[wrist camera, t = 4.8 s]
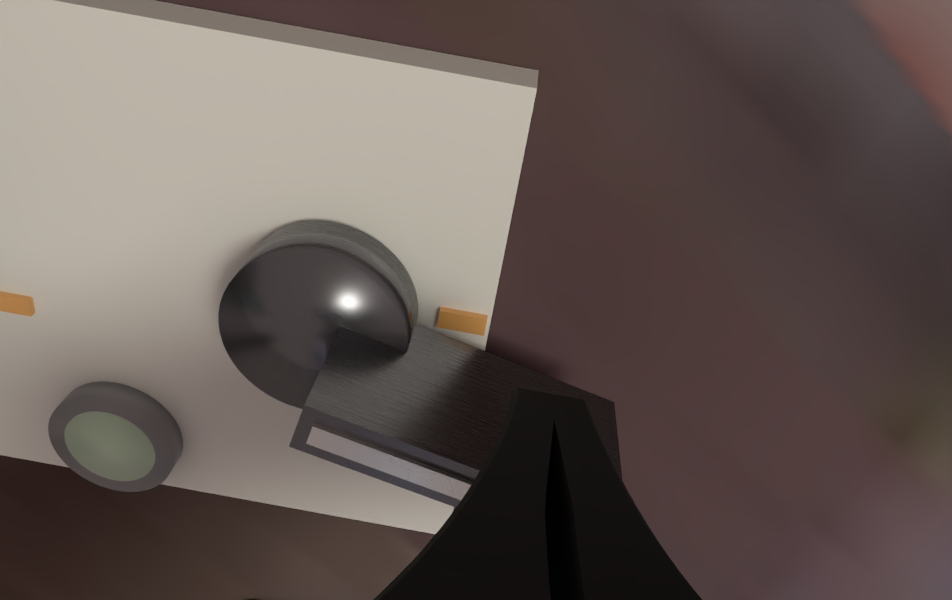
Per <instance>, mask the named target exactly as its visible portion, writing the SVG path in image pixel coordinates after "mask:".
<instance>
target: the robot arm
mask: <svg viewBox="0 0 952 600" xmlns="http://www.w3.org/2000/svg"><path fill="white" fill-rule="evenodd" d="M374 600H702V599H701V598H700V597H699V595H698V594H697V593H696V592H695V591H694V590H693V588H692V587H691V586H690V584H689V583H688V582H687V581H686V579H685V578H684V577H683V575H682V574H681V573H680V572H679V570H678V569H677V567H676V566H675V565H674V563H673V562H672V560H671V559H670V558H669V556H668V555H667V553H666V552H665V551H664V549H663V548H662V546H661V545H660V543H659V542H658V540H657V539H656V537H655V536H654V534H653V533H652V531H651V529H650V528H649V526H648V525H647V523H646V521H645V520H644V518H643V516H642V515H641V513H640V512H639V510H638V508H637V507H636V505H635V503H634V501H633V499H632V498H631V496H630V494H629V492H628V491H627V489H626V487H625V485H624V483H623V481H622V479H621V477H620V475H619V473H618V472H617V470H616V468H615V466H614V464H613V462H612V460H611V458H610V456H609V454H608V451H607V449H606V447H605V445H604V443H603V441H602V438H601V436H600V434H599V432H598V429H597V427H596V425H595V422H594V420H593V417H592V415H591V412H590V410H589V407H588V405H587V404H586V402H585V401H584V400H583V399H578V398H572V397H567V396H561V395H556V394H550V393H545V392H539V391H534V390H528V389H523V388H517V389H515V390H513V391H511V394H510V398H509V402H508V407H507V411H506V415H505V420H504V423H503V426H502V428H501V431H500V433H499V435H498V437H497V440H496V442H495V444H494V446H493V448H492V450H491V452H490V454H489V456H488V458H487V459H486V461H485V463H484V465H483V467H482V468H481V470H480V471H479V473H478V475H477V476H476V478H475V480H474V481H473V483H472V485H471V486H470V488H469V489H468V491H467V493H466V494H465V496H464V497H463V498H462V500H461V501H460V503H459V504H458V506H457V507H456V509H455V510H454V511H453V513H452V514H451V515H450V517H449V518H448V519H447V521H446V522H445V523H444V525H443V526H442V527H441V528H440V530H439V531H438V532H437V533H436V534H435V536H434V537H433V538H432V539H431V540H430V542H429V543H428V544H427V545H426V546H425V548H424V549H423V550H422V551H421V552H420V553H419V554H418V556H417V557H416V558H415V559H414V560H413V561H412V562H411V563H410V564H409V565H408V566H407V567H406V568H405V569H404V570H403V571H402V572H401V573H400V574H399V575H398V576H397V577H396V578H395V579H394V580H393V581H392V582H391V583H390V584H389V585H388V586H387V587H386V588H385V589H384V590H383V591H382V592H381V593H380V594H379V595H378V596H377V597H376V598H375V599H374Z"/></svg>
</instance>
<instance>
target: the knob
mask: <svg viewBox="0 0 952 600" xmlns="http://www.w3.org/2000/svg"><path fill="white" fill-rule="evenodd" d="M417 319H418V299H417V294H416V290H415V287H414V284H413V282H412V279H411V277H410V275H409V273H408V272H407V270H406V268H405V267H404V265H403V264H402V263H401V262H400V260H399V259H398V258H397V257H396V256H395V255H394V254H393V253H392V252H391V251H390V250H389V249H388V248H387V247H386V246H385V245H383V244H382V243H381V242H380V241H378V240H377V239H375V238H373V237H372V236H370V235H369V234H366V233H364V232H362V231H360V230H358V229H355V228H353V227H350V226H347V225H343V224H339V223H334V222H325V221H308V222H301V223H296V224H292V225H289V226H286V227H284V228H281V229H279V230H277V231H275V232H274V233H272V234H271V235H269V236H268V237H266V238H265V239H264V240H263V241H262V242H261V243H260V244H259V245H258V246H257V248H256V249H255V250H254V251H253V253H252V254H251V255H250V257H249V258H248V259H247V260H246V262H245V263H244V264H243V266H242V267H241V268H240V270H239V271H238V272H237V274H236V275H235V276H234V277H233V279H232V280H231V281H230V283H229V284H228V286H227V288H226V289H225V291H224V293H223V296H222V299H221V301H220V306H219V312H218V324H219V331H220V335H221V339H222V342H223V345H224V347H225V349H226V352H227V354H228V355H229V357H230V359H231V360H232V362H233V363H234V365H235V366H236V367H237V369H238V370H239V371H240V372H241V373H242V374H243V375H244V376H245V377H246V378H247V380H249V381H250V382H251V383H252V384H253V385H255V386H256V387H257V388H258V389H260V390H261V391H263V392H264V393H266V394H267V395H269V396H271V397H273V398H274V399H276V400H278V401H281V402H283V403H285V404H288V405H291V406H294V407H297V408H300V409H303V410H302V413H301V415H300V418H299V421H298V423H297V426H296V429H295V431H294V434H293V437H292V439H291V442H290V445H289V447H291V448H294V449H297V450H299V451H302V452H305V453H308V454H310V455H313V456H316V457H319V458H321V459H324V460H327V461H330V462H332V463H335V464H338V465H341V466H343V467H346V468H349V469H352V470H354V471H357V472H360V473H362V474H365V475H368V476H371V477H373V478H376V479H379V480H382V481H384V482H387V483H390V484H393V485H395V486H398V487H401V488H404V489H406V490H409V491H412V492H415V493H417V494H420V495H423V496H426V497H428V498H431V499H434V500H437V501H439V502H442V503H445V504H447V505H450V506H453V507H457V506H458V504H459V503H460V501H461V500H462V498H463V497H464V496H465V494H466V493H467V491H468V489H469V488H470V486H471V485H472V483H473V481H474V480H475V478H476V476H477V475H478V473H479V471H480V470H481V468H482V467H483V465H484V463H485V461H486V459H487V458H488V456H489V454H490V452H491V450H492V448H493V446H494V444H495V442H496V440H497V437H498V435H499V433H500V431H501V428H502V426H503V423H504V420H505V415H506V411H507V407H508V402H509V398H510V394H511V391H513V390H515V389H517V388H523V389H528V390H534V391H539V392H545V393H550V394H556V395H561V396H567V397H572V398H578V399H583V400H584V401H585V402H586V404H587V405H588V407H589V410H590V412H591V415H592V417H593V420H594V422H595V425H596V427H597V429H598V432H599V434H600V436H601V438H602V441H603V443H604V445H605V447H606V449H607V451H608V454H609V456H610V458H611V460H612V462H613V464H614V466H615V468H616V470H617V472H618V473H619V475H620V477H621V479H622V473H621V464H620V454H619V444H618V435H617V425H616V416H615V406H614V402H612V401H610V400H607V399H605V398H602V397H600V396H597V395H595V394H592V393H590V392H587V391H584V390H582V389H579V388H577V387H574V386H572V385H569V384H567V383H564V382H562V381H559V380H557V379H554V378H552V377H549V376H547V375H544V374H541V373H539V372H536V371H534V370H531V369H529V368H526V367H524V366H521V365H519V364H516V363H514V362H511V361H509V360H506V359H504V358H501V357H499V356H496V355H493V354H491V353H488V352H486V351H483V350H481V349H478V348H476V347H473V346H471V345H468V344H466V343H463V342H461V341H458V340H456V339H453V338H450V337H448V336H445V335H443V334H440V333H438V332H435V331H433V330H430V329H428V328H425V327H423V326H420V325H418V324H417Z"/></svg>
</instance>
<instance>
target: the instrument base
mask: <svg viewBox="0 0 952 600" xmlns="http://www.w3.org/2000/svg"><path fill="white" fill-rule="evenodd" d="M537 82H538V70H533V69H527V68H522V67H516V66H511V65H505V64H500V63H494V62H489V61H483V60H478V59H472V58H467V57H461V56H456V55H451V54H445V53H440V52H434V51H429V50H423V49H418V48H412V47H407V46H401V45H396V44H390V43H385V42H379V41H374V40H368V39H363V38H357V37H352V36H346V35H341V34H336V33H330V32H325V31H319V30H314V29H308V28H303V27H297V26H292V25H286V24H281V23H275V22H270V21H264V20H259V19H253V18H248V17H242V16H237V15H231V14H226V13H220V12H215V11H210V10H204V9H199V8H193V7H188V6H182V5H177V4H171V3H166V2H160V1H155V0H0V455H3V456H9V457H14V458H20V459H25V460H31V461H36V462H42V463H47V464H53V465H58V466H64V467H69V468H71V469H72V470H73V471H74V472H76V473H77V474H78V475H80V476H82V477H83V478H85V479H86V480H88V481H90V482H92V483H94V484H97V485H99V486H102V487H105V488H108V489H112V490H117V491H123V492H140V491H145V490H149V489H152V488H154V487H156V486H158V485H160V484H162V485H168V486H173V487H179V488H184V489H190V490H195V491H201V492H206V493H212V494H217V495H223V496H228V497H234V498H239V499H245V500H250V501H256V502H261V503H267V504H272V505H278V506H283V507H289V508H294V509H300V510H305V511H311V512H316V513H322V514H327V515H333V516H338V517H344V518H349V519H355V520H360V521H366V522H371V523H377V524H382V525H388V526H393V527H399V528H404V529H410V530H415V531H421V532H426V533H432V534H436V533H437V532H438V531H439V530H440V528H441V527H442V526H443V525H444V523H445V522H446V521H447V519H448V518H449V517H450V515H451V514H452V513H453V508H454V507H453V506H450V505H447V504H445V503H442V502H439V501H437V500H434V499H431V498H428V497H426V496H423V495H420V494H417V493H415V492H412V491H409V490H406V489H404V488H401V487H398V486H395V485H393V484H390V483H387V482H384V481H382V480H379V479H376V478H373V477H371V476H368V475H365V474H362V473H360V472H357V471H354V470H352V469H349V468H346V467H343V466H341V465H338V464H335V463H332V462H330V461H327V460H324V459H321V458H319V457H316V456H313V455H310V454H308V453H305V452H302V451H299V450H297V449H294V448H291V447H289V445H290V442H291V439H292V437H293V434H294V431H295V429H296V426H297V423H298V421H299V418H300V415H301V413H302V410H303V409H300V408H297V407H294V406H291V405H288V404H285V403H283V402H281V401H278V400H276V399H274V398H273V397H271V396H269V395H267V394H266V393H264V392H263V391H261V390H260V389H258V388H257V387H256V386H255V385H253V384H252V383H251V382H250V381H249V380H247V378H246V377H245V376H244V375H243V374H242V373H241V372H240V371H239V370H238V369H237V367H236V366H235V365H234V363H233V362H232V360H231V359H230V357H229V355H228V354H227V352H226V349H225V347H224V345H223V342H222V339H221V335H220V331H219V324H218V312H219V306H220V301H221V299H222V296H223V293H224V291H225V289H226V288H227V286H228V284H229V283H230V281H231V280H232V279H233V277H234V276H235V275H236V274H237V272H238V271H239V270H240V268H241V267H242V266H243V264H244V263H245V262H246V260H247V259H248V258H249V257H250V255H251V254H252V253H253V251H254V250H255V249H256V248H257V246H258V245H259V244H260V243H261V242H262V241H263V240H264V239H265V238H266V237H268V236H269V235H271V234H272V233H274V232H275V231H277V230H279V229H281V228H284V227H286V226H289V225H292V224H296V223H301V222H308V221H325V222H334V223H339V224H343V225H347V226H350V227H353V228H355V229H358V230H360V231H362V232H364V233H366V234H369V235H370V236H372V237H373V238H375V239H377V240H378V241H380V242H381V243H382V244H383V245H385V246H386V247H387V248H388V249H389V250H390V251H391V252H392V253H393V254H394V255H395V256H396V257H397V258H398V259H399V260H400V262H401V263H402V264H403V265H404V267H405V268H406V270H407V272H408V273H409V275H410V277H411V279H412V282H413V284H414V287H415V290H416V294H417V299H418V319H417V324H418V325H420V326H423V327H425V328H428V329H430V330H433V331H435V332H438V333H440V334H443V335H445V336H448V337H450V338H453V339H456V340H458V341H461V342H463V343H466V344H468V345H471V346H473V347H476V348H478V349H481V350H483V351H485V347H486V342H487V337H488V332H489V327H490V322H491V317H492V312H493V307H494V302H495V297H496V292H497V287H498V282H499V277H500V272H501V267H502V262H503V257H504V252H505V247H506V242H507V237H508V232H509V227H510V222H511V217H512V212H513V207H514V202H515V197H516V191H517V186H518V181H519V176H520V171H521V166H522V161H523V156H524V151H525V146H526V141H527V136H528V131H529V126H530V121H531V116H532V111H533V106H534V101H535V96H536V91H537Z"/></svg>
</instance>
